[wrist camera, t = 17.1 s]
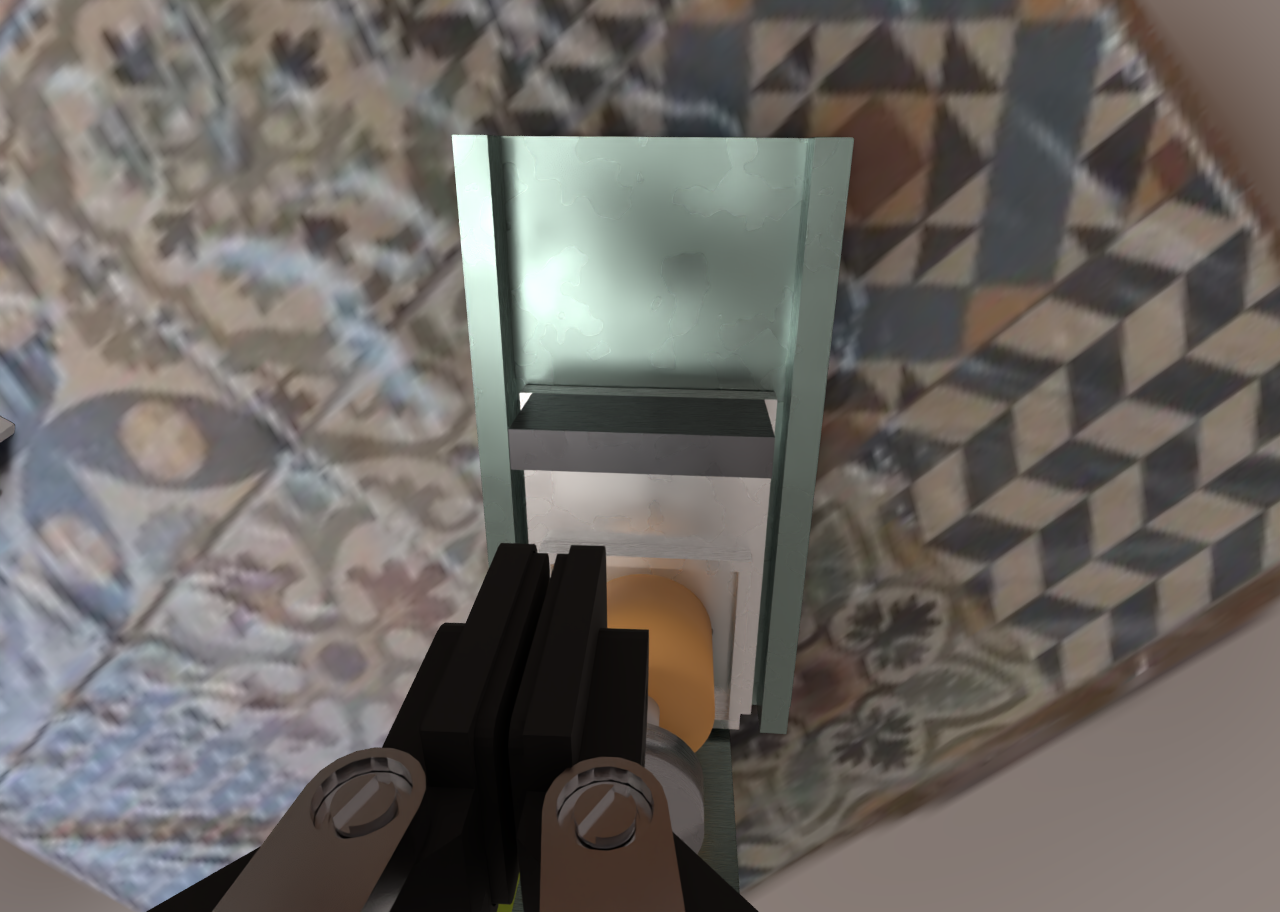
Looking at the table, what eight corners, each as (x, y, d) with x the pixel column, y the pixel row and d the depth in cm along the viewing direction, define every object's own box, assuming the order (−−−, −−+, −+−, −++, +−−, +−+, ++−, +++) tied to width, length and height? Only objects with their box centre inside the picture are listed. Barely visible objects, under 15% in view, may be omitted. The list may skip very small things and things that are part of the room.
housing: (570, 575, 31) (541, 675, 26) (709, 571, 31) (712, 672, 25) (585, 686, 34) (562, 801, 28) (714, 684, 33) (718, 801, 27)
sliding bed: (524, 385, 29) (493, 428, 25) (774, 391, 29) (790, 438, 24) (542, 688, 35) (519, 769, 31) (749, 699, 35) (757, 783, 30)
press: (464, 136, 27) (-1406, 24, 3) (848, 138, 26) (2614, 14, 2) (512, 739, 38) (209, 1729, 14) (781, 754, 37) (939, 1833, 13)
